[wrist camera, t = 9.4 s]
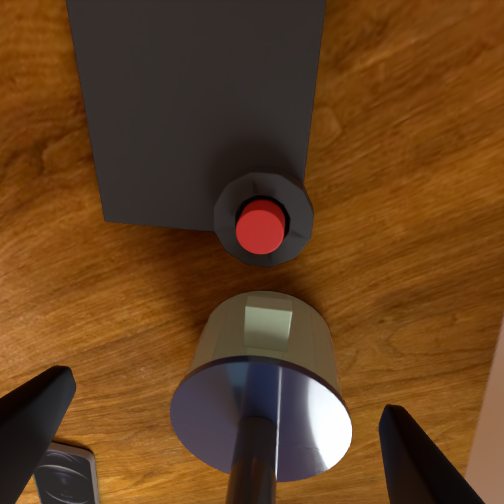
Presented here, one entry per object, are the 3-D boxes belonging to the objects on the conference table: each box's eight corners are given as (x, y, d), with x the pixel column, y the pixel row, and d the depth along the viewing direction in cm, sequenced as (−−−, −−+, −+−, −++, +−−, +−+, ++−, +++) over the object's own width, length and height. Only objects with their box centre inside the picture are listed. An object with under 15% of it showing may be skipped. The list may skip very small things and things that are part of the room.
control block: (368, -217, 11) (392, -314, 9) (304, 248, 20) (305, 271, 17) (49, -207, 12) (-18, -291, 10) (118, 230, 21) (92, 249, 18)
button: (287, 200, 16) (286, 211, 14) (282, 242, 17) (281, 256, 16) (241, 197, 16) (236, 207, 15) (240, 238, 17) (234, 252, 16)
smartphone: (90, 458, 33) (98, 526, 39) (95, 449, 33) (102, 518, 40) (23, 442, 33) (43, 513, 40) (29, 434, 34) (47, 505, 40)
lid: (367, 359, 16) (400, 477, 11) (332, 475, 21) (345, 594, 16) (170, 335, 17) (118, 434, 12) (180, 451, 22) (146, 556, 17)
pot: (351, 264, 20) (374, 329, 14) (317, 418, 27) (323, 503, 21) (201, 249, 21) (166, 305, 15) (205, 402, 28) (183, 479, 22)
